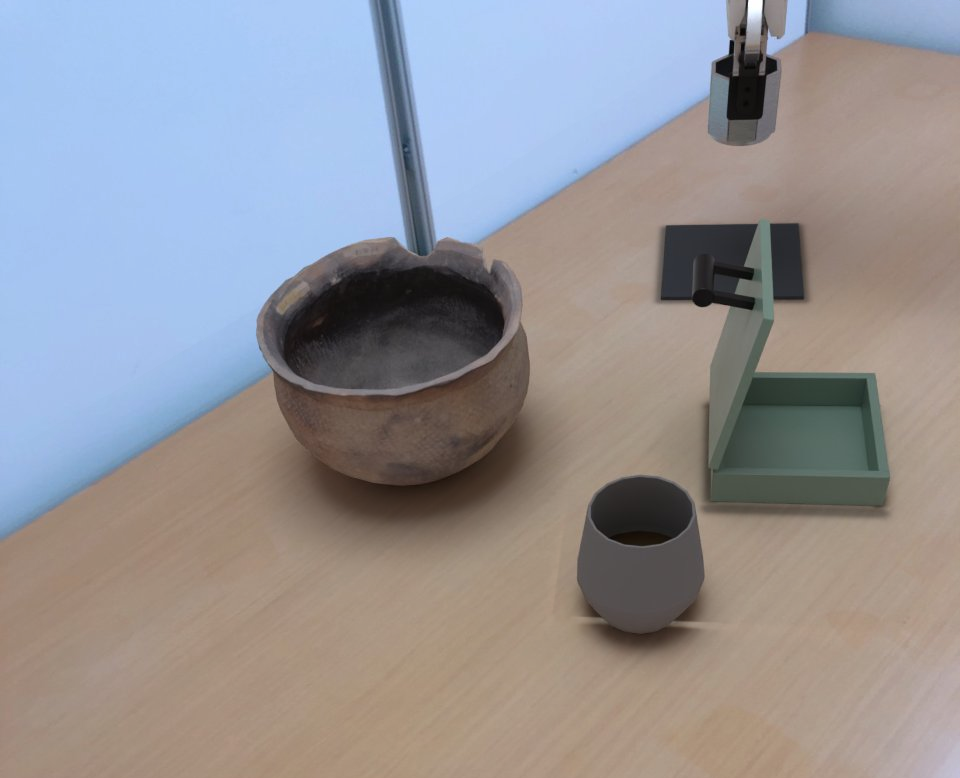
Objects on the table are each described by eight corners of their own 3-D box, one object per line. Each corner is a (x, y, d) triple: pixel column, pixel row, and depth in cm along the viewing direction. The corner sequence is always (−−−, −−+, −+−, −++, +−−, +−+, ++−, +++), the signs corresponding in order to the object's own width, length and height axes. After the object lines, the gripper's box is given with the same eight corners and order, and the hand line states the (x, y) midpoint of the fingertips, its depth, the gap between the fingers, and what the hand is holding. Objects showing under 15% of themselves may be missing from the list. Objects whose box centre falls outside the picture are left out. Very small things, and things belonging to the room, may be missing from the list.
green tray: (868, 408, 97) (875, 372, 94) (881, 513, 89) (890, 477, 86) (711, 406, 99) (714, 371, 97) (709, 508, 91) (712, 473, 88)
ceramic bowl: (574, 401, 102) (568, 253, 91) (476, 558, 90) (455, 410, 78) (366, 360, 109) (337, 218, 98) (250, 500, 97) (201, 357, 86)
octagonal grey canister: (773, 116, 106) (780, 50, 101) (774, 146, 102) (782, 79, 97) (707, 118, 107) (711, 53, 102) (707, 148, 103) (711, 82, 98)
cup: (722, 589, 85) (733, 491, 77) (665, 670, 80) (670, 575, 73) (615, 547, 89) (615, 451, 81) (555, 622, 84) (548, 528, 77)
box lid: (770, 220, 85) (701, 207, 85) (774, 320, 77) (698, 305, 77) (718, 367, 96) (658, 356, 96) (717, 470, 88) (651, 457, 88)
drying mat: (797, 226, 118) (798, 223, 118) (803, 299, 109) (804, 296, 109) (665, 228, 120) (666, 225, 120) (660, 300, 111) (660, 296, 111)
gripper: (817, -93, 83) (788, 144, 96) (806, -161, 94) (782, 60, 107) (715, -87, 84) (701, 146, 97) (716, -155, 95) (704, 63, 108)
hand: (744, 99), depth 102 cm, fingers closed on octagonal grey canister, 6 cm apart
